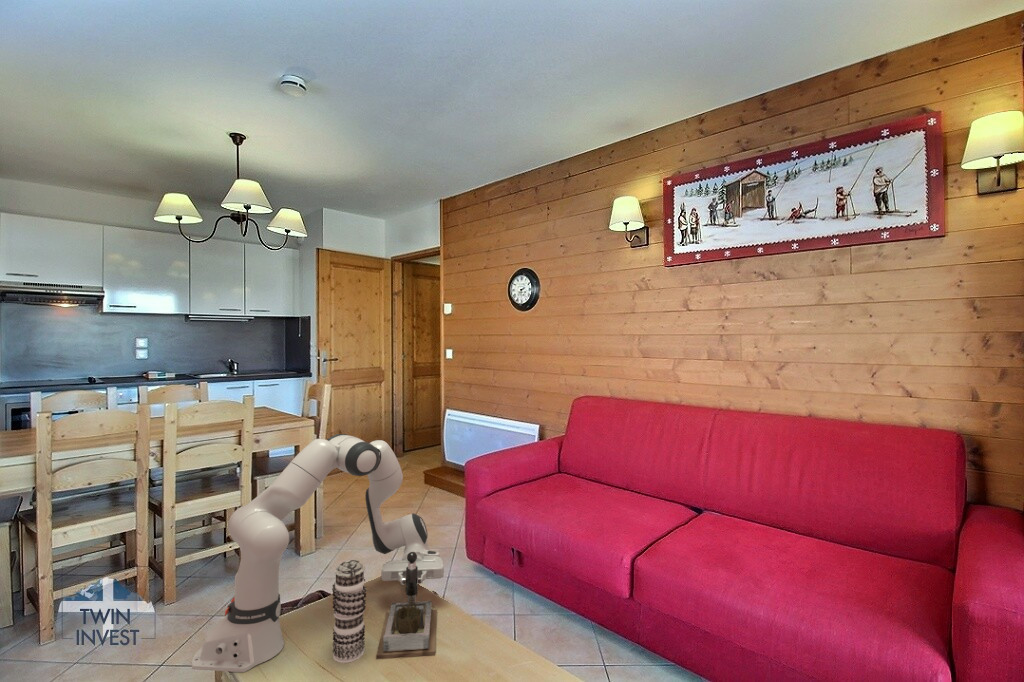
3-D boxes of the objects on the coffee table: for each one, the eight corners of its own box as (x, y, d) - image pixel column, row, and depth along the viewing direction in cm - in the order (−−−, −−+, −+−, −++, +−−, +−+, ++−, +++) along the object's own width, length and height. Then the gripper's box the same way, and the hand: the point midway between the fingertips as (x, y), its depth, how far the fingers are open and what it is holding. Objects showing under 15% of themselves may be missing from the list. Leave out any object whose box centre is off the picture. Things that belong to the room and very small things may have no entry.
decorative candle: (328, 648, 139) (330, 560, 139) (362, 639, 143) (363, 554, 143) (333, 667, 131) (335, 574, 131) (369, 657, 135) (370, 567, 135)
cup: (415, 648, 140) (415, 620, 140) (391, 644, 141) (391, 616, 141) (424, 632, 147) (425, 606, 147) (401, 629, 149) (402, 603, 149)
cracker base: (376, 659, 135) (376, 637, 135) (386, 615, 156) (386, 596, 156) (434, 655, 137) (435, 633, 137) (436, 612, 158) (437, 594, 158)
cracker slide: (383, 651, 136) (384, 582, 136) (391, 610, 157) (392, 550, 157) (428, 648, 137) (429, 580, 137) (431, 608, 158) (432, 548, 158)
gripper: (383, 554, 167) (377, 573, 154) (444, 551, 170) (443, 570, 156) (383, 572, 167) (377, 593, 154) (443, 570, 170) (443, 590, 156)
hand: (411, 581), depth 155 cm, fingers open, 4 cm apart
